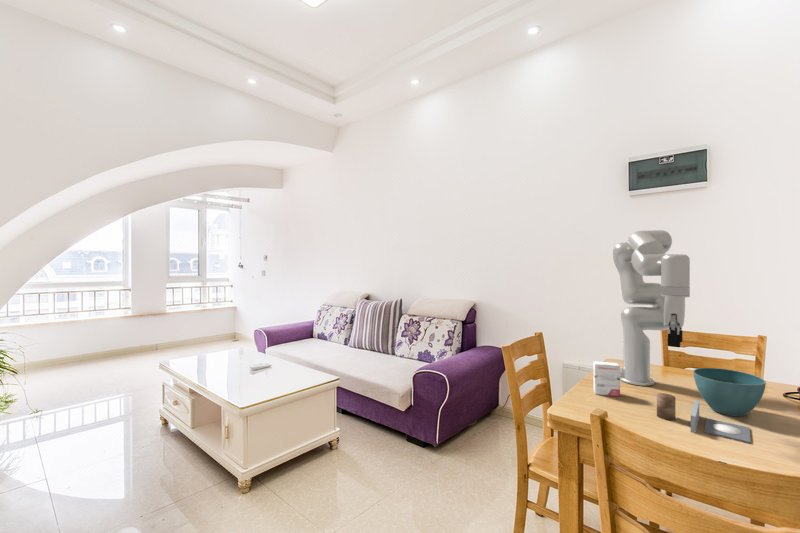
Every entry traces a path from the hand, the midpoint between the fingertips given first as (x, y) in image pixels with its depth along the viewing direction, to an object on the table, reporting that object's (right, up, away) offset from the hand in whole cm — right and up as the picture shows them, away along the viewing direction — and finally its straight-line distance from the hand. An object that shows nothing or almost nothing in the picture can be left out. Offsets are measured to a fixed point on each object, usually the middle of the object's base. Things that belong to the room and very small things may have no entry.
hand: (675, 344), depth 120 cm
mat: (+8, -24, -10) cm, 27 cm away
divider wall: (+3, -24, -5) cm, 25 cm away
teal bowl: (+21, -24, +4) cm, 32 cm away
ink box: (-10, -24, +22) cm, 34 cm away
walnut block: (-3, -24, 0) cm, 24 cm away
